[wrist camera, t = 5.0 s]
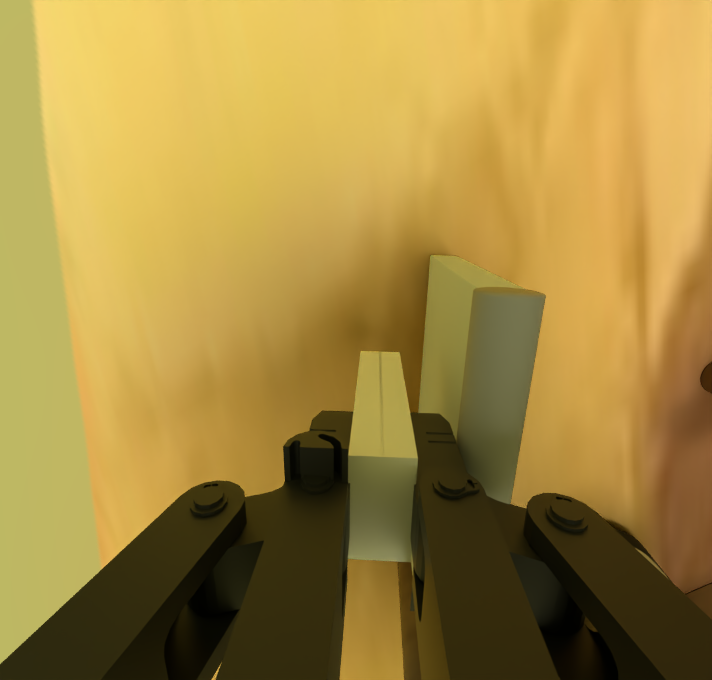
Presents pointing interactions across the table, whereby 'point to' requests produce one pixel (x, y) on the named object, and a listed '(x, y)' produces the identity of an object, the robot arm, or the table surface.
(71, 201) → the table surface
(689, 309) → the table surface
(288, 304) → the table surface
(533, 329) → the pale flat rectangular slab
